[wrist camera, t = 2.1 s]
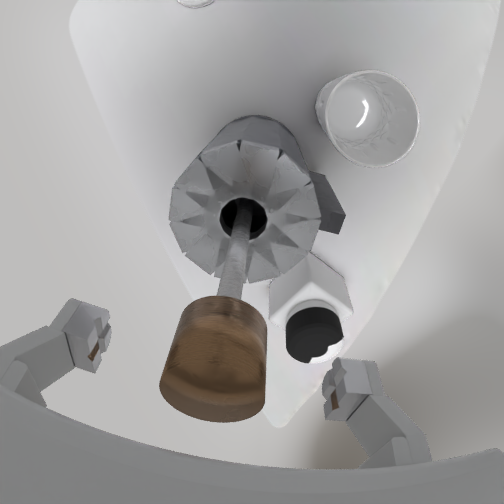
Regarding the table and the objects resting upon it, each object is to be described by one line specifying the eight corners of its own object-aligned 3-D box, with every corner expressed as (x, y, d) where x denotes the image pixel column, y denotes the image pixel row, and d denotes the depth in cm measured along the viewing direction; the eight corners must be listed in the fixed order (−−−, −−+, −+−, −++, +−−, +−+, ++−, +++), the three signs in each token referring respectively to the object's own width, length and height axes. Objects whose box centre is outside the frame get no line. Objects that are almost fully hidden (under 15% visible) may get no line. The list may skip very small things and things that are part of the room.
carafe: (220, 107, 31) (178, 128, 17) (330, 133, 31) (376, 176, 18) (204, 189, 35) (162, 266, 22) (306, 212, 36) (326, 301, 22)
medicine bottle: (268, 284, 42) (266, 353, 31) (304, 247, 38) (315, 312, 28) (307, 310, 43) (315, 378, 33) (344, 277, 40) (364, 344, 30)
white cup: (293, 101, 30) (303, 108, 21) (350, 58, 27) (382, 51, 18) (340, 157, 33) (364, 186, 24) (394, 117, 30) (436, 133, 21)
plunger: (214, 138, 23) (91, 284, 7) (303, 158, 23) (367, 342, 7) (200, 217, 26) (116, 418, 10) (280, 235, 27) (286, 452, 11)
